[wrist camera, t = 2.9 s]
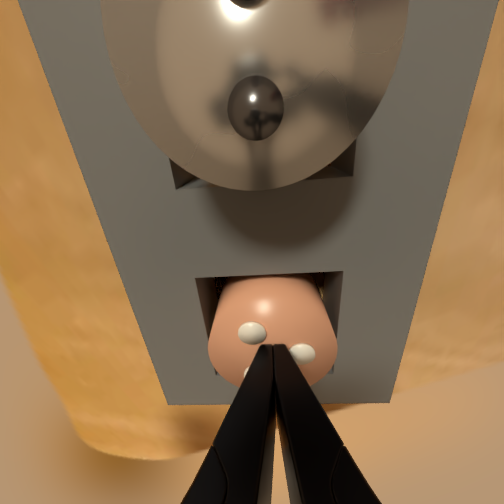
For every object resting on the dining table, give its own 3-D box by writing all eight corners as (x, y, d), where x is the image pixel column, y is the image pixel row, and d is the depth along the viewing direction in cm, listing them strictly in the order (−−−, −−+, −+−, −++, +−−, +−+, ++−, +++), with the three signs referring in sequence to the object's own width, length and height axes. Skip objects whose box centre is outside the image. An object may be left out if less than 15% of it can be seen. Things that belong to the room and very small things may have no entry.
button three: (213, 261, 10) (196, 306, 7) (322, 255, 10) (344, 300, 7) (227, 339, 12) (216, 398, 9) (317, 337, 12) (333, 396, 9)
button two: (147, -33, 5) (34, -200, 3) (355, -62, 5) (459, -281, 2) (187, 176, 7) (144, 200, 5) (338, 164, 7) (385, 182, 4)
